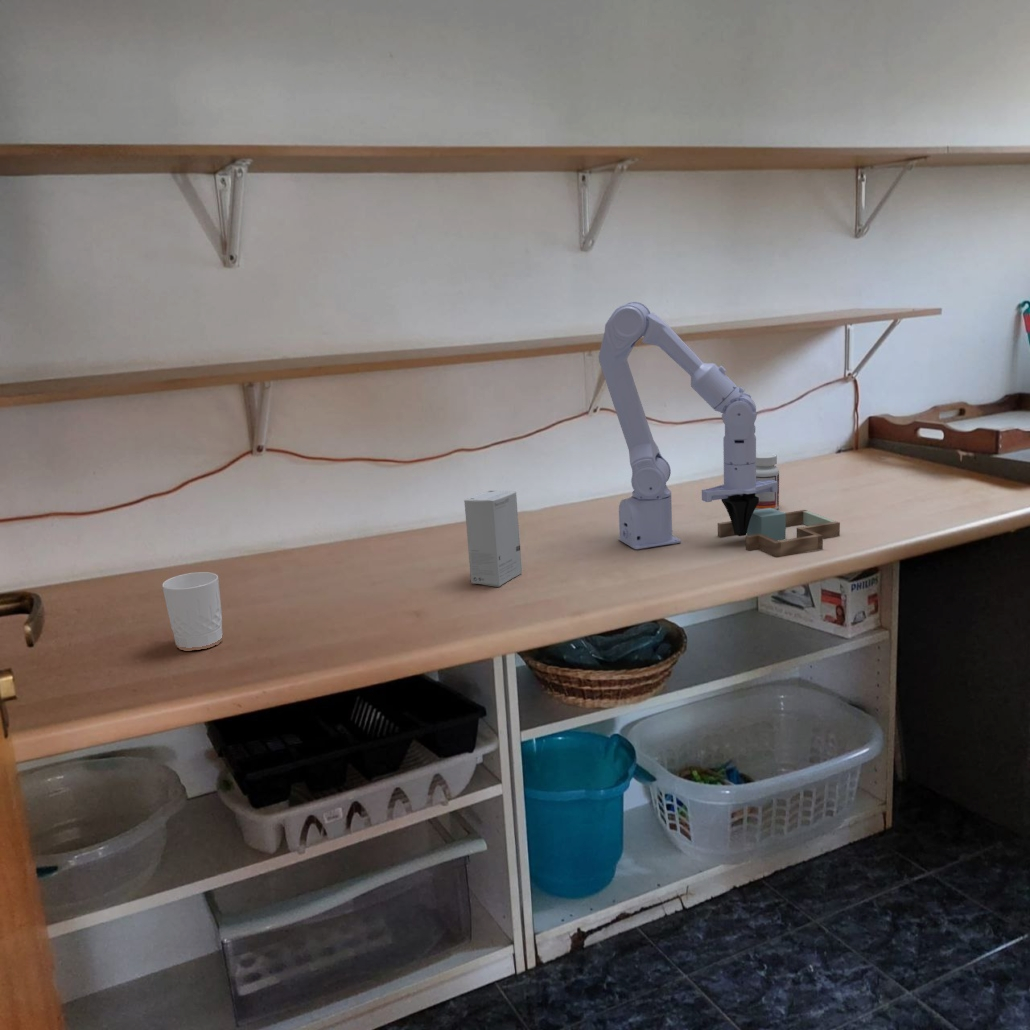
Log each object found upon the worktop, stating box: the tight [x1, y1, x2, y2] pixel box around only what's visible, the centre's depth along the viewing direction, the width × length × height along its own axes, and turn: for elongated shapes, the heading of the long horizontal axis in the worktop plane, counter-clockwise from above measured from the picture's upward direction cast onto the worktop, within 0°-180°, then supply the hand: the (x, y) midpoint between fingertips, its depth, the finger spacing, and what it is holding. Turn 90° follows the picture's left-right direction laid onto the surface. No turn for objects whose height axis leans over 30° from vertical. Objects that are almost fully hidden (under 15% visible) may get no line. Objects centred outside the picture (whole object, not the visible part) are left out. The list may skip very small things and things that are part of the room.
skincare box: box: [463, 490, 523, 588], centre depth 165 cm, size 8×6×15 cm
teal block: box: [746, 508, 787, 541], centre depth 179 cm, size 5×5×5 cm
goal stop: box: [802, 510, 836, 526], centre depth 183 cm, size 1×9×2 cm, turn 18°
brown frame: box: [717, 509, 841, 558], centre depth 178 cm, size 19×16×2 cm
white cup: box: [161, 571, 224, 648], centre depth 144 cm, size 8×8×10 cm
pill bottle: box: [755, 452, 780, 510], centre depth 199 cm, size 6×6×11 cm
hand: (740, 534), depth 178 cm, fingers closed
